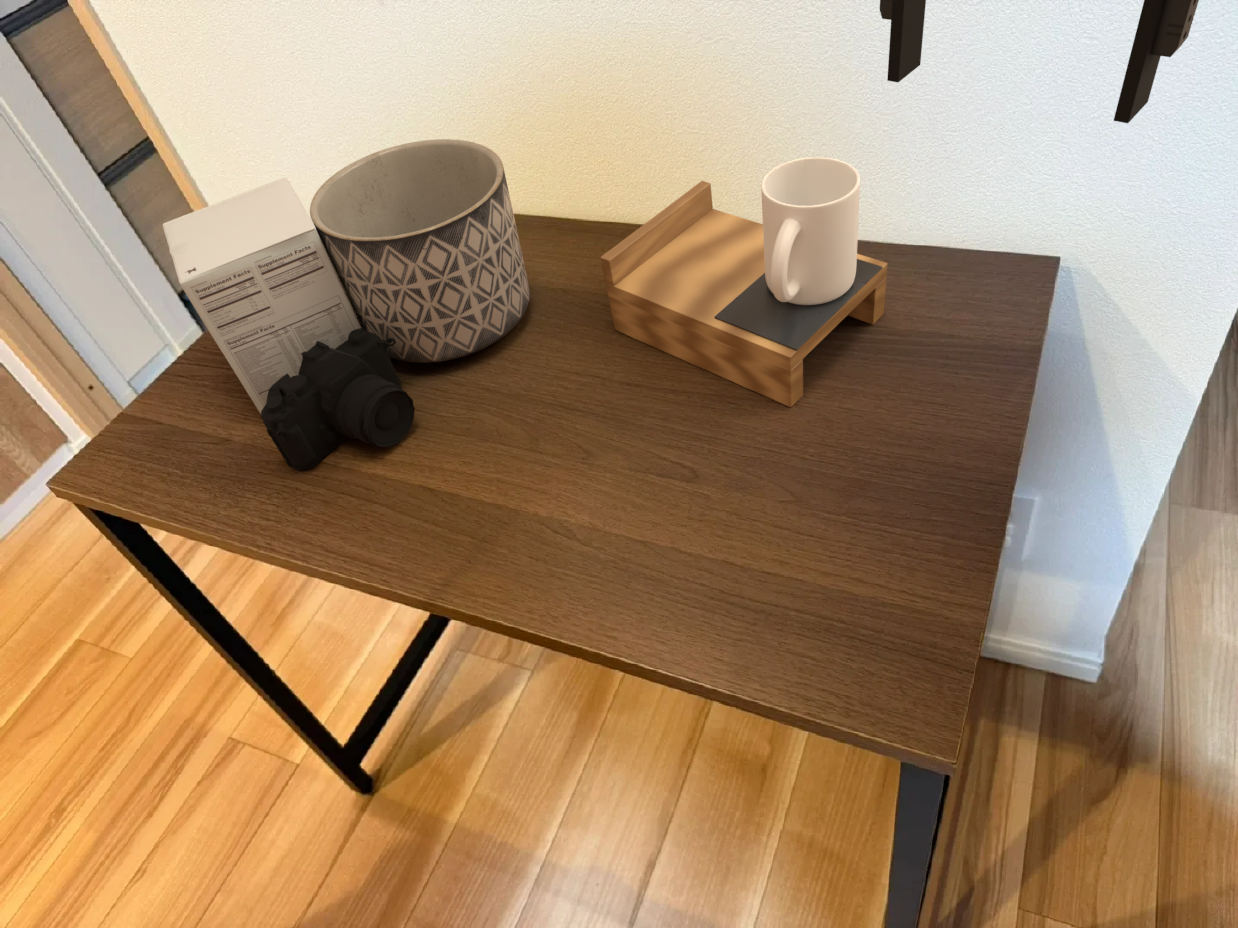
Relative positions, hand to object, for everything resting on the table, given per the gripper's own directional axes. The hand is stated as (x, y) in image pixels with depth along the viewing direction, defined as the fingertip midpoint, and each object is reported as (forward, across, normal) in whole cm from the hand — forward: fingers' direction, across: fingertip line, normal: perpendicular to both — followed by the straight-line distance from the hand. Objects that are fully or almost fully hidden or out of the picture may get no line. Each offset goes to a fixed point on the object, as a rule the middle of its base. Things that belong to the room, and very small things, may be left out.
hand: (1008, 91), depth 52 cm
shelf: (+30, -25, +5) cm, 39 cm away
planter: (+30, -53, -11) cm, 62 cm away
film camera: (+30, -47, -28) cm, 62 cm away
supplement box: (+30, -62, -25) cm, 73 cm away
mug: (+24, -18, +5) cm, 31 cm away
